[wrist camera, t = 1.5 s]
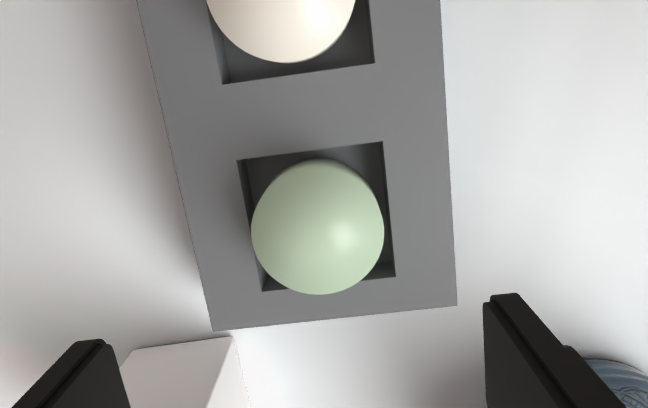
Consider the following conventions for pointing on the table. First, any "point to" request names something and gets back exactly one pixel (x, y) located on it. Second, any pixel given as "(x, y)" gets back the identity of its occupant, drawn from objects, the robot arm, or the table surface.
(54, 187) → the table surface
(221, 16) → the button cream
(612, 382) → the canister
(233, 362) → the milk carton
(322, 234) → the button sage
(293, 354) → the table surface
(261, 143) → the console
